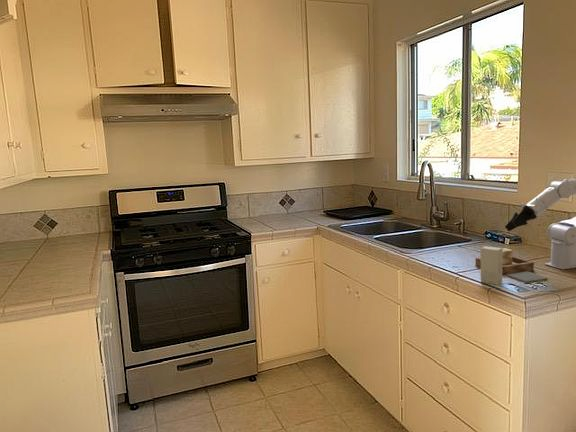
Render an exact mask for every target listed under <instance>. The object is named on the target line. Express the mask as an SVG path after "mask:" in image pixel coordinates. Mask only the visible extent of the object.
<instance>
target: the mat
mask: <svg viewBox="0 0 576 432" xmlns="http://www.w3.org/2000/svg"><path fill="white" fill-rule="evenodd" d="M505 276H506V277H507V276H508V278H510V277H511V278H510V279H513V280H516V281H519V282H521V281H522V282H521V283H524V284H528V283H529V284H530V283H536V282H541V281H548V278H547V277H546V276H543V275H539V274H536V273H534V272H531V271H526V272H519V273H512V274H506V275H505Z"/></svg>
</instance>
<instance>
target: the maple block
mask: <svg viewBox="0 0 576 432" xmlns="http://www.w3.org/2000/svg"><path fill="white" fill-rule="evenodd" d="M501 248H502V264H503V265H505V264H511V263H512V256H514V255H513V252H514V251H513V250H512V249H509V248H504V247H501Z"/></svg>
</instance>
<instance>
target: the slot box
mask: <svg viewBox="0 0 576 432" xmlns="http://www.w3.org/2000/svg"><path fill="white" fill-rule="evenodd" d="M474 263H475V266H476V267H478V268H481V256H480V257H475V262H474ZM534 263H535V262H533V261H531V260H527V259H523V258H520V257H516V256H514V255H512V263H511V264H505V265H503V264H502V276H506V274H512V273H519V272H526V271H527V272H532V271H534V268H535V267H534V265H535V264H534Z"/></svg>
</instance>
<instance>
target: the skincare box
mask: <svg viewBox="0 0 576 432" xmlns="http://www.w3.org/2000/svg"><path fill="white" fill-rule="evenodd" d="M502 248H503V247H494V246H487V245H486V246H483V247H481V248H480V257H481V267H480V282H481V283H484V284H485V283H486V284H489V285H490V284H493V285H496V284H497V286H498V285H500V284H502V283H503V275H502ZM501 282H502V283H501Z"/></svg>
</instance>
